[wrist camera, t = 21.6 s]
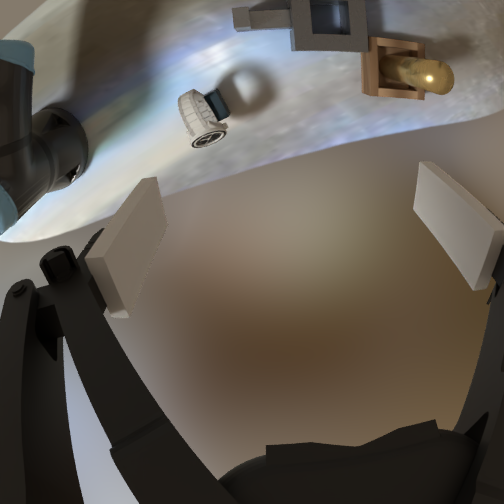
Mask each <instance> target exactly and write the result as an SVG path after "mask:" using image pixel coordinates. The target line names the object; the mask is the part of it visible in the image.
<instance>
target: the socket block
mask: <svg viewBox="0 0 504 504" xmlns="http://www.w3.org/2000/svg"><path fill="white" fill-rule="evenodd" d="M310 5H335V6H339V12H340V24H341V35H337V34H312V22H311V11H310ZM287 8H288V9H290V14H291V24H292V30H291V31H290V40H291V51H340V52H363V53H368V34H367V19H366V7H365V0H287Z"/></svg>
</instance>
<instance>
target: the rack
mask: <svg viewBox="0 0 504 504" xmlns="http://www.w3.org/2000/svg"><path fill="white" fill-rule="evenodd" d="M385 55H396V56H406V57H414V58H422V59H425V44H422V43H416V42H410V41H403V40H396V39H388V38H379V37H369V36H368V53H363V52H361V72H362V93H365V94H367V95H369V96H381V97H396V98H408V99H418V100H424V97H425V90H424V89H421V88H418V87H414V86H411V85H408V84H405V83H401V82H398V81H394V80H391V79H387V78H385V77H384V76H383V75H382V74H381V73H380V71H379V61H380V59H381V58H382V57H383V56H385Z"/></svg>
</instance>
